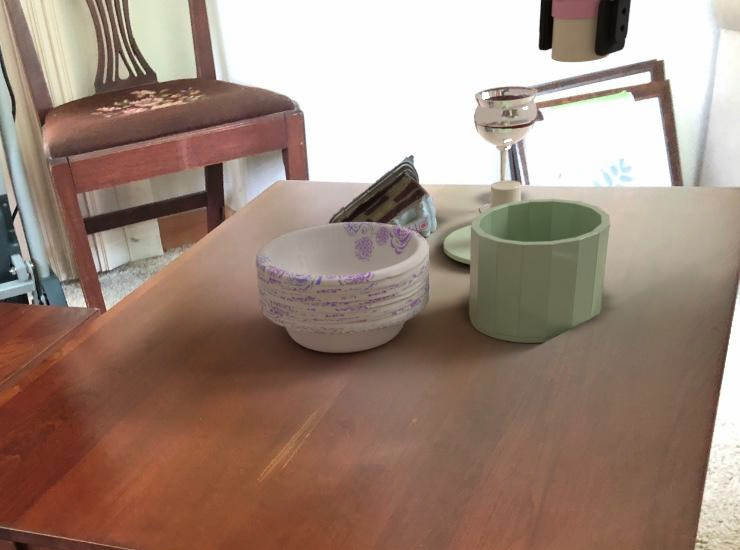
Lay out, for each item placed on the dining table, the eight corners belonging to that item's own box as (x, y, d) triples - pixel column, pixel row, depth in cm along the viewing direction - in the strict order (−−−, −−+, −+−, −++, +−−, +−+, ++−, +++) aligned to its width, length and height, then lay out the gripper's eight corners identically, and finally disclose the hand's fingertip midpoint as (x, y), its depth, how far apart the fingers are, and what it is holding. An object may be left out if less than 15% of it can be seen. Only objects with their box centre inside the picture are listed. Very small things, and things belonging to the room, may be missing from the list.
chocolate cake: (352, 263, 103) (429, 169, 98) (320, 228, 106) (393, 136, 102) (398, 298, 110) (472, 212, 105) (367, 264, 114) (437, 180, 109)
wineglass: (466, 202, 113) (468, 90, 105) (524, 196, 113) (530, 83, 105) (477, 221, 108) (480, 104, 100) (537, 214, 108) (545, 96, 100)
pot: (620, 330, 83) (633, 231, 77) (493, 351, 82) (497, 253, 77) (569, 283, 92) (577, 191, 86) (454, 302, 91) (455, 211, 86)
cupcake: (624, 52, 82) (633, -29, 78) (585, 65, 80) (592, -17, 76) (575, 47, 85) (581, -30, 81) (536, 60, 83) (540, -19, 79)
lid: (584, 261, 96) (590, 192, 92) (464, 280, 95) (465, 212, 91) (539, 223, 105) (542, 159, 101) (429, 240, 104) (429, 177, 100)
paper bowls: (443, 301, 91) (444, 216, 86) (410, 374, 80) (408, 281, 75) (292, 297, 96) (284, 216, 91) (241, 365, 85) (229, 277, 80)
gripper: (739, -247, 67) (695, 48, 78) (545, -221, 78) (531, 35, 89) (674, -239, 63) (638, 68, 75) (481, -213, 74) (475, 51, 86)
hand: (580, 47), depth 82 cm, fingers closed on cupcake, 5 cm apart
